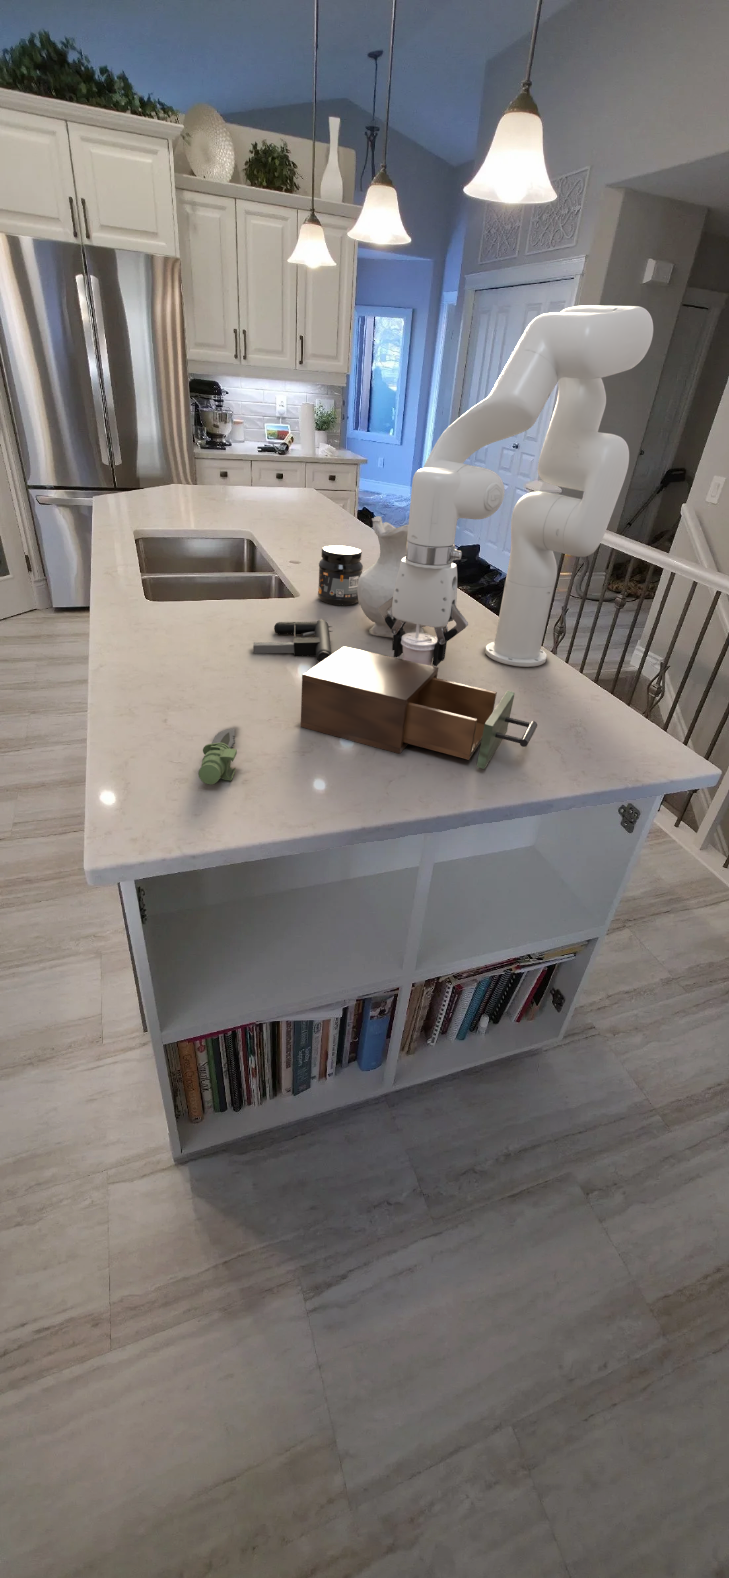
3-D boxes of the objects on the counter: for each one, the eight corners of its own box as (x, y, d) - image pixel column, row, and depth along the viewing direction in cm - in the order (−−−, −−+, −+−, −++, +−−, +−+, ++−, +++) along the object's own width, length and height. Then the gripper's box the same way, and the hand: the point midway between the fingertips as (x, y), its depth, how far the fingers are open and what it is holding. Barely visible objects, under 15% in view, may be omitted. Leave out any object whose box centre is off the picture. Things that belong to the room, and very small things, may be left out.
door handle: (250, 652, 125) (337, 651, 126) (256, 618, 142) (333, 617, 143) (252, 669, 127) (337, 668, 128) (258, 633, 144) (333, 632, 145)
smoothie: (394, 682, 123) (401, 607, 116) (428, 683, 124) (438, 608, 117) (398, 697, 118) (406, 619, 111) (434, 698, 119) (444, 620, 111)
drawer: (536, 739, 106) (545, 699, 103) (517, 778, 96) (527, 734, 92) (415, 709, 113) (420, 670, 109) (384, 742, 102) (388, 700, 98)
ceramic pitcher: (384, 615, 162) (386, 503, 149) (462, 625, 154) (471, 508, 142) (342, 640, 145) (340, 516, 133) (426, 653, 138) (433, 523, 125)
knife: (190, 758, 86) (229, 763, 86) (217, 714, 103) (250, 718, 103) (188, 786, 87) (227, 791, 88) (215, 738, 104) (248, 742, 105)
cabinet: (431, 717, 113) (438, 667, 108) (399, 754, 101) (406, 700, 96) (340, 694, 118) (343, 646, 113) (300, 726, 106) (301, 674, 102)
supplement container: (323, 591, 171) (325, 542, 164) (364, 597, 169) (367, 547, 163) (312, 603, 162) (314, 551, 156) (355, 609, 161) (359, 557, 154)
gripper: (487, 557, 109) (471, 662, 118) (388, 541, 114) (380, 643, 124) (474, 567, 103) (458, 677, 112) (370, 549, 108) (363, 656, 118)
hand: (417, 658), depth 118 cm, fingers closed on smoothie, 6 cm apart
